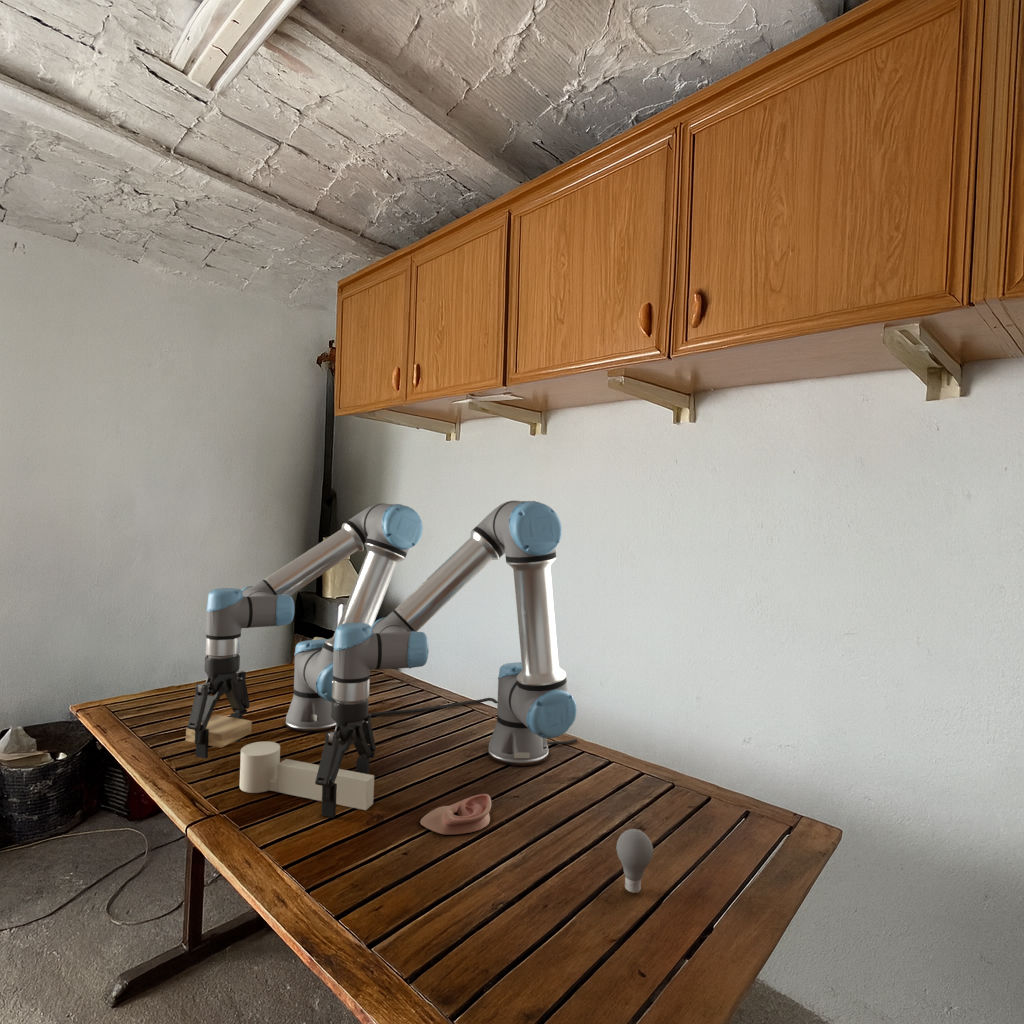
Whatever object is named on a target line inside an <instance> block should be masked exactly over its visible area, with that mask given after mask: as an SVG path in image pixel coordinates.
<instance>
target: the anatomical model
mask: <svg viewBox="0 0 1024 1024" xmlns="http://www.w3.org/2000/svg"><path fill="white" fill-rule="evenodd" d="M491 809H492V798H491V796H490V795H489V794H488V793H479V794H476V795H472V796H469V797H467V798H463V799H462V800H460V801H457V802H455V803H453V804H450V805H442V806H439V807H437V808H434V809H432V810H430V811H429V812H428V813H426V814H425V815H424V816H423V817H422V818H421V819H420V821H419V823H420V825H421V826H423V827H424V828H426V829H428V830H430V831H432V832H433V833H434V832H435V833H437V834H441V835H446V836H448V835H449V836H450V835H463V834H469V833H473V832H477V831H480V830H483V829H484V828H485V827H487V826H488V825H489V824H490V822H491V815H490V811H491Z"/></svg>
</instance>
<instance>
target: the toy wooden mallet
mask: <svg viewBox="0 0 1024 1024" xmlns="http://www.w3.org/2000/svg"><path fill="white" fill-rule="evenodd" d="M239 763H240V764H239V765H240V766H239V789H240V790H241V791H242V792H244V793H249V794H260V793H265V792H269V791H270V792H275V793H280V794H284V795H290V796H295V797H299V798H305V799H309V800H314V801H319V802H322V786H321V785H316V784H315V781H316V777H317V773H318V769H319V765H320V764H315V763H311V762H305V761H300V760H295V759H290V758H285V759H283V760H281V745H280V744H279V743H277V742H275V741H255V742H251V743H248V744H245V745H244V746H243V747H241V749H240V762H239ZM330 779H331V778H330ZM334 783H336V784H337V792H336V806H337V805H338V806H343V807H348V808H352V809H357V810H363V811H367V810H368V809H369V808H370V807H372V806H373V805H374V797H375V796H374V793H375V775H374V774H370V773H369V774H364V773H359V772H356V771H353V770H347V769H342V768H339V771H338V774H337V777H336V779H335V782H334Z"/></svg>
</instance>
